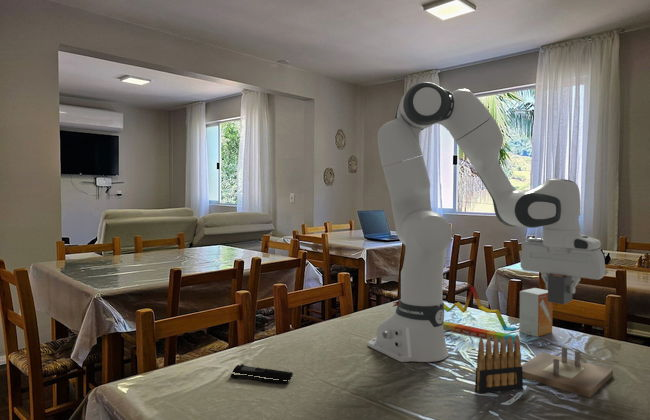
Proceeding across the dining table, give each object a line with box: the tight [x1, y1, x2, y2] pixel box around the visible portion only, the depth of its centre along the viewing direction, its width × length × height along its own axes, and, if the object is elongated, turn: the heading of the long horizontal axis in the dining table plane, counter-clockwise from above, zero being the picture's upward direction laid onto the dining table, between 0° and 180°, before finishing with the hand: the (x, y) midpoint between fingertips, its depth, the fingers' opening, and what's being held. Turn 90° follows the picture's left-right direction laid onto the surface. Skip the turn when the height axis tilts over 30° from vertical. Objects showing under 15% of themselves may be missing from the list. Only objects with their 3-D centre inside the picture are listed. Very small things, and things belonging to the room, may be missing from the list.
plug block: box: [548, 274, 574, 305], centre depth 118 cm, size 4×6×7 cm, turn 132°
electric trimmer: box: [230, 363, 294, 383], centre depth 104 cm, size 4×16×3 cm, turn 71°
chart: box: [443, 285, 517, 344], centre depth 138 cm, size 30×3×15 cm, turn 49°
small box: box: [518, 287, 554, 338], centre depth 137 cm, size 8×6×13 cm
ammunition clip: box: [474, 334, 524, 395], centre depth 98 cm, size 11×2×12 cm, turn 101°
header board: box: [521, 347, 614, 399], centre depth 105 cm, size 16×16×5 cm
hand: (560, 291), depth 118 cm, fingers closed on plug block, 4 cm apart
